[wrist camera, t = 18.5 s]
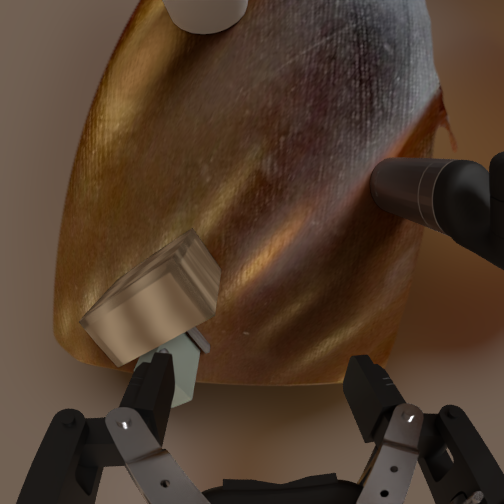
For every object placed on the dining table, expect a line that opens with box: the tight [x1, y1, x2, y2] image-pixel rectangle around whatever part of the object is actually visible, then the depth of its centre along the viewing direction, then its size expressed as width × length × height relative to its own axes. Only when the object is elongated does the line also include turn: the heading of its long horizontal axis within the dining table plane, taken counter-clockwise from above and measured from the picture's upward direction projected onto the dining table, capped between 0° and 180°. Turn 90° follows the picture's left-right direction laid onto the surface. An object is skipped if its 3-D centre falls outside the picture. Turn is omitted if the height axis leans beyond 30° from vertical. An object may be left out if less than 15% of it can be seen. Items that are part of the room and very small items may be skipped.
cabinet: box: [79, 228, 221, 367], centre depth 41 cm, size 18×19×15 cm
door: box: [134, 332, 200, 408], centre depth 44 cm, size 5×8×13 cm, turn 32°
